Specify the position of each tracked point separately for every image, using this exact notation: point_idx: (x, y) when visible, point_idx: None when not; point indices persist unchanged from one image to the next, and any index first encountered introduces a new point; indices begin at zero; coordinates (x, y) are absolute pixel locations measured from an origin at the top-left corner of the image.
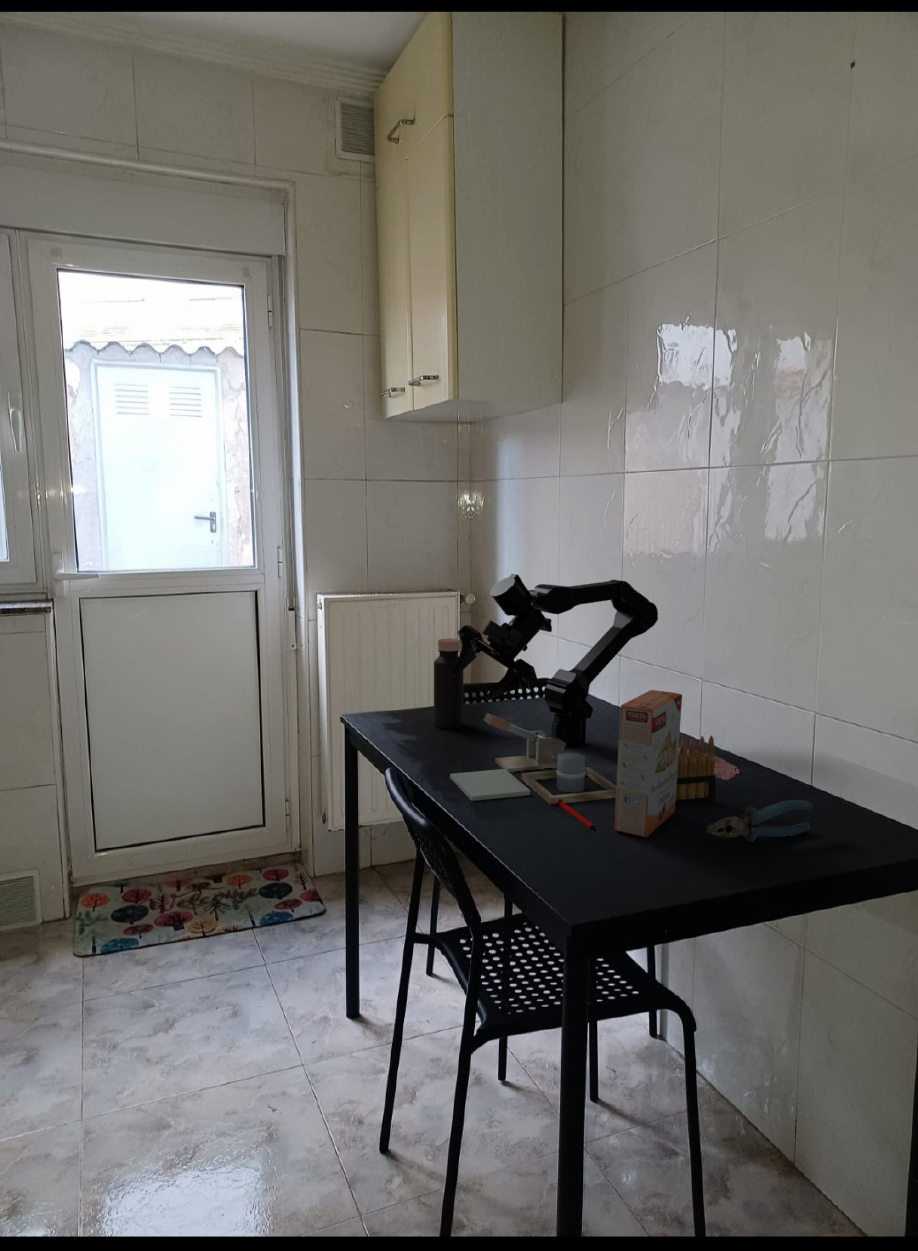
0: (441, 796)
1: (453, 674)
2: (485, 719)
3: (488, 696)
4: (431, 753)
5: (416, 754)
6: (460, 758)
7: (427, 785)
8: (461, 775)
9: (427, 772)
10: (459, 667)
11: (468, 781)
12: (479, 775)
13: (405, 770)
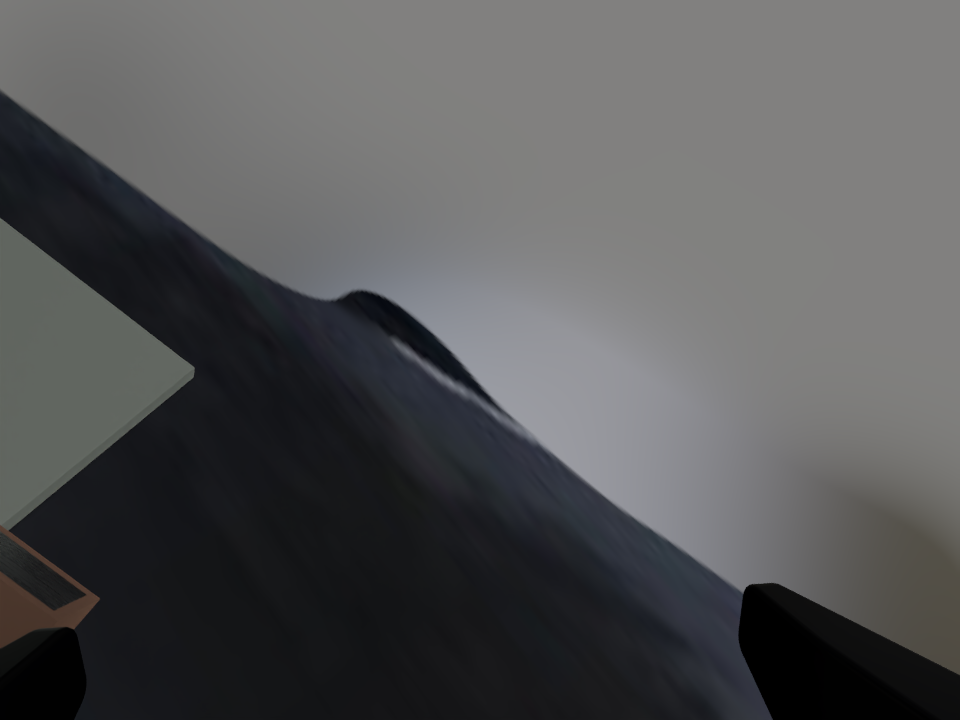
0: (103, 187)
1: (749, 588)
2: (57, 576)
3: (16, 640)
4: (498, 638)
5: (532, 574)
6: (331, 679)
7: (232, 267)
8: (126, 372)
9: (331, 394)
10: (848, 697)
11: (41, 314)
12: (22, 417)
13: (417, 373)
